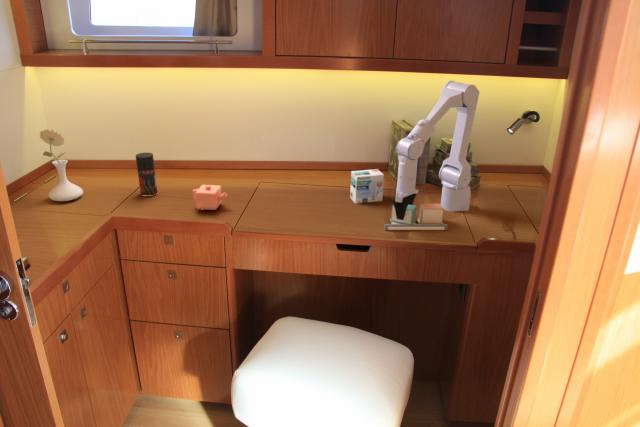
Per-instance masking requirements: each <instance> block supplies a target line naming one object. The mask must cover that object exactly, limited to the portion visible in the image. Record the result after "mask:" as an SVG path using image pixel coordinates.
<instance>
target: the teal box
mask: <svg viewBox="0 0 640 427" xmlns="http://www.w3.org/2000/svg"><path fill="white" fill-rule="evenodd" d="M416 213H417V205H415V204H413V205H409V204H408V206H407V209H406V213H405V217H404V219H403V220H399V219H397V217H396V211H395V207H394V205H393V204H392V205H391V215H390V219H391V220H390V222H395V223H400V224H413V223H414V222H416V215H417V214H416Z"/></svg>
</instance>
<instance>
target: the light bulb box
mask: <svg viewBox="0 0 640 427" xmlns="http://www.w3.org/2000/svg"><path fill="white" fill-rule="evenodd" d="M384 181H385V174H384V173H383V172H381V171H380V170H379V169H378V168H375V169H363V170H351V172H350V189H349V190H350V194H349V198H350V199H351V201H353V203H354V204H355V205H357V204H365V203H372V202H373V203H375V202H383V195H384V194H383V193H384V183H385V182H384Z"/></svg>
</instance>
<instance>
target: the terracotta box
mask: <svg viewBox="0 0 640 427" xmlns="http://www.w3.org/2000/svg"><path fill="white" fill-rule="evenodd" d="M418 211H419V212H418V218H417V219H419V221H420V223H421V224H442V222H444V221H443V220H444V214H445V213H444V211H445V210H444V208H443V206H442V205H441V203H420V204H419V210H418Z"/></svg>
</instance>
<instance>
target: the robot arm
mask: <svg viewBox="0 0 640 427" xmlns="http://www.w3.org/2000/svg"><path fill="white" fill-rule="evenodd" d="M479 96H480V91H479V89H478V87H477V86H476V85H475V84H468V83H463V82H457V81H454V80H449V81H447V82H446V84H445V85H444V86H443V88H442V89H441V90H440V97H439V99H438V100H437V102H436V103H435V105H433V108H432V109H431V111H430V112H429V113H428V115H427V116H426V117H425V118H424V119H423V118H422V119H420V120H418V122H417V123H416V125H415V126H414V127H413V129H411V131H410V132H409V134H408V135H406V137H404V138H401V139H399V140H398V143H397V145H396V146H395V152H396V153H397V160H398V168H397V169H398V170H397V184H396V190H395V194H396V195H395V196H394V197H392V198H391V202H392V206H393V205H394V207H395V211H396V217H397V219H399V220H403V219H404V217H405V213H406V209H407V206H408V204H409V205H414V201H415V199H416V197H417V195H418V194H419V190H418V189H416V182H417V173H418V172H417V169H418V160H419V158H420V157H421V156H422V154H423V153H424V148H425V146H426V145H425V144H426V143H427V142H428V140H429V139H430V138H431V136H432V135H433V134H434V133H435V131H436V125H437V124H438V122H440V120H441V119H443V117H444V116H445V115H446V114H447V113H448V112H449V111H450V110H451V109H452V108H455V109H456V110H457V117H456V121H455V127H454V130H453V137H452V141H451V142H452V143H451V147H450V153H449V157H446V159H444V160H443V161H442V165H441V167H440V169H439V171H438V172H439V173H438V178H439V179H440V180H441V183H440V184H442V190H441V198H440V204H441V205H442V206H443V208H444V211H447V212H453V213H454V212H468V211H469V209H470V203H471V197H472V194H471V193H472V191H471V186H470V185H469V184H470V182H471V181H472V179H471V178H472V174H471V173H472V172H471V170H472V166H471V164H470V163H469V162H468V161H467V155H468V151H469V146H470V145H469V144H470V142H471V137H472V136H471V134H472V130H473V125H474V121H475V120H474V119H475V116H476V111H477V107H478V100H479Z"/></svg>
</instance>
